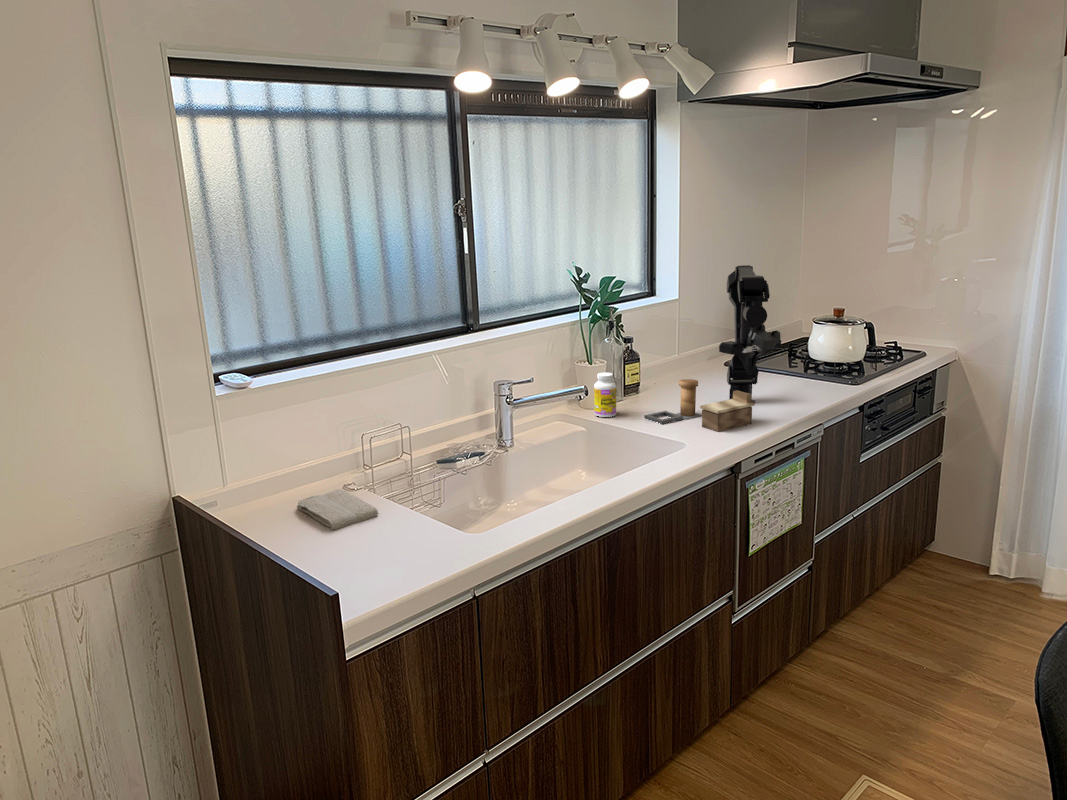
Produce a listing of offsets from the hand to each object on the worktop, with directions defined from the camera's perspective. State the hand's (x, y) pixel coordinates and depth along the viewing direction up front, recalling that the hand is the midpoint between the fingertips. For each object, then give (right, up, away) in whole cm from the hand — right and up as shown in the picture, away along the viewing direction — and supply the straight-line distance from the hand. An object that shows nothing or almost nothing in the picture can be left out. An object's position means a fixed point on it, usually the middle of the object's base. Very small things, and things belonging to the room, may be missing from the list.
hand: (749, 374), depth 240 cm
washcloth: (-106, -33, -56) cm, 124 cm away
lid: (-7, -9, -4) cm, 13 cm away
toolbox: (-7, -15, -3) cm, 17 cm away
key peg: (-16, -12, +8) cm, 22 cm away
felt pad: (-16, -12, +8) cm, 22 cm away
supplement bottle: (-41, -12, +12) cm, 44 cm away
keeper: (-24, -13, +6) cm, 28 cm away
